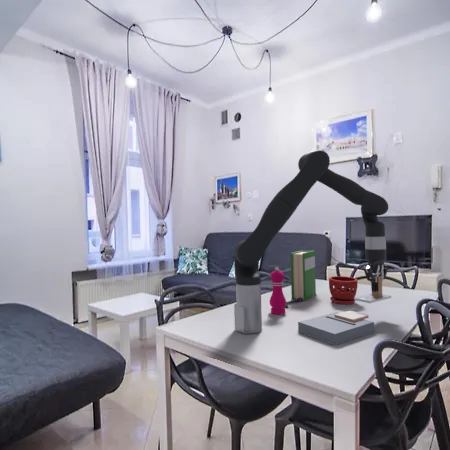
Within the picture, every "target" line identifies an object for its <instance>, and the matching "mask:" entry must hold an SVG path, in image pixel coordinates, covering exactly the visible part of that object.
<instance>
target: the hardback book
mask: <svg viewBox="0 0 450 450" xmlns="http://www.w3.org/2000/svg"><path fill="white" fill-rule="evenodd" d="M290 284H291V285H290V287H291V288H290V289H291V292H290V293H291V300H295V299H298V298H300V297H301V298H303V302H306V301H308V300H309V299H310V298H312V297H313V296H315V295H316V293H317V289H316V285H317V284H316V250H309V249H307V250H302V249H301V250H298V251H294V252H293V251H292V252H290Z"/></svg>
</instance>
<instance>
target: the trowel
mask: <svg viewBox="0 0 450 450" xmlns="http://www.w3.org/2000/svg"><path fill="white" fill-rule="evenodd" d="M377 278H378V279H377V285H378V291H377V292H373V291H372V290H371V293H368V294H365V295H360V296H355V297H354V300H355V301H357V302H362V303H366V304H373V303H377V302H381V301H385V300H389V299H392V295H389V294H383V281H382V276H378V277H377ZM374 279H375V276H374Z"/></svg>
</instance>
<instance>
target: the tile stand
mask: <svg viewBox="0 0 450 450" xmlns="http://www.w3.org/2000/svg"><path fill="white" fill-rule="evenodd" d="M338 313H339V312H338V311H335V312H331V313H328V314H324V315H320V316H315V317H312V318H308V319H303V320H300V321H297V332H298V333H301V334H303V335H307V336H310V337H312V338H315V339H318V340H320V341H323V342H325V343H328V342H329V343H328V344H331V343H332V344H331V345H334V344H335V345H334V346H336V344H337V345H339V343H340V344H342V342H343V343H345V342H348V341H351V340H353V339H357V338H361V337H363V336H366V335H369V334H371V333H374V332H375V325H374V324H375V322H374V321H373V320H368V319H363V320H359V321H356V322H350V321H347V320H343V319H340V318H336V317H335V314H338ZM356 337H357V338H356ZM350 339H351V340H350ZM347 340H348V341H347Z"/></svg>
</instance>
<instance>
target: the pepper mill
mask: <svg viewBox="0 0 450 450" xmlns="http://www.w3.org/2000/svg"><path fill="white" fill-rule="evenodd" d="M269 278H270V280H271V286H272V293H271V296H270V298H269V306H271V308H270V313H271V314H273V315H284V314H285V313H286V308H284V307H285V305H286V302H287V300H286V298H285V297H286V296H285V295H284V292H283V286H284V282H283V281H284V279H285V273H283V272H282V271H281V270H280V269H279V267H278V266H276V267H275V268H274V271H272V272H271V273H270V276H269Z"/></svg>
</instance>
